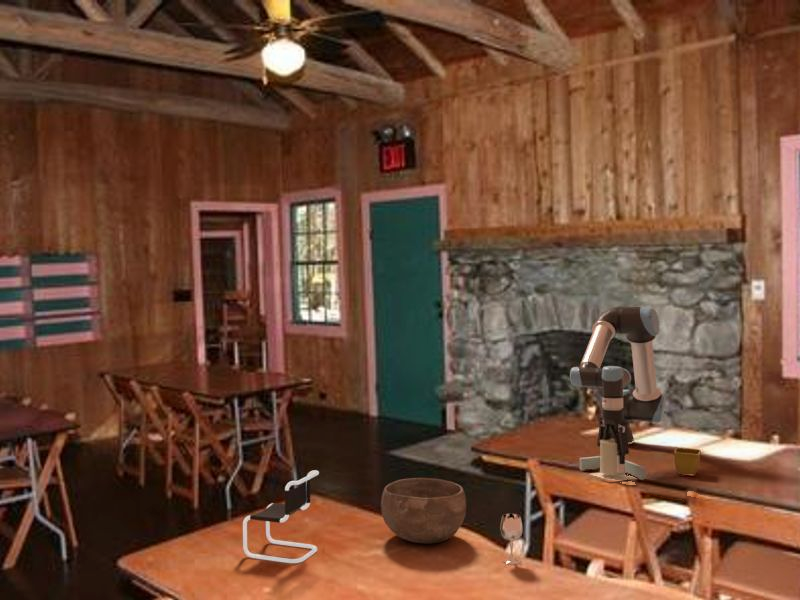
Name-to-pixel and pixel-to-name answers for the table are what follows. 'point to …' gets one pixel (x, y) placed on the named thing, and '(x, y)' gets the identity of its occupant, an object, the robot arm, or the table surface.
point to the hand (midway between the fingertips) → (612, 469)
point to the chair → (284, 517)
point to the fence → (629, 466)
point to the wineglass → (511, 533)
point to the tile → (612, 476)
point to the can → (609, 457)
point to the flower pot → (687, 460)
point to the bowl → (423, 509)
